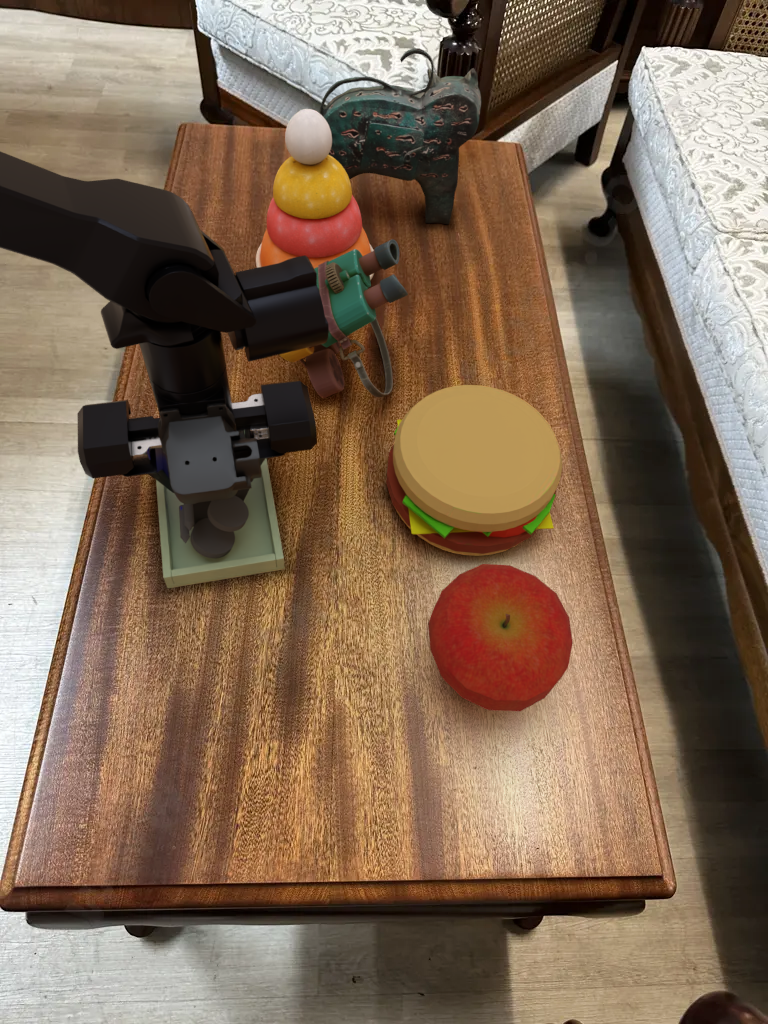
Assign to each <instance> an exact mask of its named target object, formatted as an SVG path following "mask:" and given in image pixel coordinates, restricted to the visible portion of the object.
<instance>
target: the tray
mask: <svg viewBox="0 0 768 1024" xmlns="http://www.w3.org/2000/svg"><path fill="white" fill-rule="evenodd" d="M244 434H245V430H244ZM261 474H262V476H261V478H255V479H253V481H252V482H251V487H252V488H250V489H249V491H248V493H247V495H246V497H245V499H244V503H245V504H246V505H247V507H248V511H249V516H248V519H247V521H246V523H245V525H244V526H243V527H242V528H241V529H239V530H237V531H234V534H235V542H234V545H233V547H232V549H231V550H230V552H229V553H228V554H227V555H225V556H223V557H221V558H207V557H205V556H202V555H201V554H199V553H198V552H197V551H196V550H195V549H194V548H193V546H192V544H191V540H190V538H189V539H188V541H187V542H186V543H185V542H184V541H183V540H182V539H181V537H180V519H179V506H180V505H184V504H183V503H181V502H180V501H179V500H178V499H177V497H176V495H175V493H172V492H171V491H170V490H169V489H167V488H166V487H165V486H163V485H162V484H161V483H160V482H158V481H157V480H156V479H155V484H156V499H157V509H158V510H157V511H158V512H157V513H158V524H159V526H158V527H159V539H160V553H161V565H162V566H161V567H162V578H163V580H164V583H165V586H166V588H167V589H173V588H179V587H185V586H191V585H197V584H198V585H199V584H202V583H203V584H204V583H210V582H216V581H221V580H228V579H234V578H239V577H247V576H252V575H259V574H264V573H270V572H271V573H272V572H277V571H282V570H286V566H285V556H284V551H283V545H282V540H281V534H280V528H279V522H278V516H277V510H276V506H275V499H274V494H273V488H272V487H273V486H272V482H271V476H270V470H269V465H268V458H266V459H265V460H264V461H263V463H262V465H261ZM193 528H194V527H192V529H191V530H190V531H189V534H190V536H191V532H192V530H193Z"/></svg>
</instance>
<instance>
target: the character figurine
mask: <svg viewBox="0 0 768 1024" xmlns="http://www.w3.org/2000/svg"><path fill="white" fill-rule="evenodd" d="M241 431H243V435H244V438H245V434H244V430H239V432H241ZM233 453H234V451H233ZM234 460H235V457H234ZM235 467H236V465H235ZM236 473H237V472H236ZM248 491H249V489H248V488H247V489H242V490H238V491H237V493H236V495H235V496H233V497H232V498H230V499H224V500H213V501H206V502H199V503H196V504H184V505H180V506H179V519H180V537H181V539H182V540H183V541H184V542H185V543H186V542H187V541H188V539H189V538H190V540H191V544H192V546H193V548H194V549H195V550H196V551H197V552H198V553H199V554H201V555H202V556H205V557H207V558H221V557H223V556H225V555H227V554H228V553H229V552H230V550H231V549H232V547H233V545H234V542H235V534H234V531H237V530H239V529H241V528H242V527H243V526H244V525H245V523H246V521H247V519H248V516H249V511H248V507H247V505H246V504H245V503H244V499H245V497H246V495H247V493H248ZM192 527H194V528H193V530H192V532H191V536H190V534H189V531H190V530H191V529H192Z"/></svg>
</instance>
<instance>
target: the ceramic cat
mask: <svg viewBox="0 0 768 1024" xmlns="http://www.w3.org/2000/svg"><path fill="white" fill-rule="evenodd" d="M412 55H421V56H424V57H425V58H426V59H427V60H428V61H429V63H430V66H431V67H430V69H429V68H427V78H428V80H427V84H426V87H424V88H422V89H420V90H419V89H418V90H415V91H414V90H410V89H408V88H406V87H403V86H400V85H397V84H396V85H395V84H389V83H387V82H385V81H383V80H381V79H378V78H376V77H373V76H354V77H348V78H344V79H340V80H338V81H336V82H334V83H333V84H332V85H331V86H330V87H329V88H328V89H327V91H326V92H325V94H324V96H323V98H322V100H321V103H320V106H319V112H318V113H320V114H321V115H322V116H323V117H324V118H325V120H326V121H327V123H328V125H329V127H330V130H331V134H332V146H331V150H330V152H329V154H328V155H330V156H332V157H333V158H335V159H336V160H337V161H338V162H339V163H340V164H341V165H342V166H343V168H344V169H345V171H346V173H347V175H348V177H349V180H350V181H351V180H352V179H353V178H355V177H357V176H359V175H363V174H372V175H378V176H384V177H389V178H392V179H397V180H402V181H406V182H412V181H416V182H417V183H418V185H419V186H420V188H421V191H422V194H423V196H424V204H425V207H424V208H425V209H424V217H425V221H424V223H425V224H444V225H449V224H450V223H451V217H452V213H453V210H454V206H455V205H454V203H455V196H456V190H457V187H458V181H459V166H460V147H462V146H463V145H464V144H466V143H467V142H469V140H471V139H472V138H473V136H474V135H475V134H476V132H477V129H478V127H479V124H480V115H481V108H482V94H481V91H480V88H479V81H478V72H477V71H476V70H475V68H474V67H473V68H471V69H469V71H468V72H467V74H465V76H458V75H451V76H449V75H448V76H443V77H440V76H438V74H436V72H435V71H434V69H435V68H434V67H435V65H434V62H433V58H432V56H431V55H430V54H429V53H428V52H426V50H424V49H422V48H420V47H419V48H418V47H417V48H416V47H415V48H414V47H413V48H410V49H407V50H406V51H405V52H404V53H403V54H402V55H401V57H400V59H399V61H400V62H401V63H403V61H404V60H406V59H407V58H408V57H410V56H412ZM357 82H373V83H376V84H379V85H375V86H365V87H364V86H363V87H362V86H361V87H359V86H358V87H351V88H349V89H347V90H346V91H344V92H342V93H340V94H338V95H335V96H334V97H333V98H332V99H331V100H330V101H329V102H328V103H327V104H326V105H325V103H326V101H327V99H328V97H329V96H330V95H331V94H332V93H333V92H334V91H335V90H336V89H337V88H339V87H341V86H343V85H345V84H349V83H357Z"/></svg>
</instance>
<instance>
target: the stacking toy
mask: <svg viewBox="0 0 768 1024" xmlns="http://www.w3.org/2000/svg"><path fill="white" fill-rule="evenodd" d="M284 137H285V138H284V142H285V147H286V149H287V151H288V153H289V155H290V156H289V157H288V158H286V160H284V161H283V162H282V164H281V165H280V167H279V168H278V170H277V171H276V174H275V177H274V181H273V186H272V198H271V200H270V203H269V206H268V209H267V213H266V229H265V231H264V234H263V237H262V240H261V243H260V245H259V246H258V248H257V251H256V254H255V265H256V268H258V267H263V266H268V265H273V264H277V263H281V262H283V261H286V260H288V259H291V258H295V257H300V256H304V255H305V256H307V257H308V259H309V260H310V262H311V264H312V266H313V268H316V267H318V265H320V264H322V263H324V262H326V261H331V260H333V259H335V258H337V257H339V256H341V255H344V254H346V253H348V252H350V251H352V250H354V249H357V250H359V251H360V253H361V254H362V256H364V255H366V254H368V253H370V252H372V251H374V249H373V246H372V244H370V241H369V238H368V235H367V233H366V231H365V229H364V227H363V219H362V213H361V210H360V207H359V204H358V202H357V200H356V198H355V196H354V195H353V189H352V184H351V179H350V180H349V177H348V175H347V173H346V171H345V169H344V168H343V166H342V165H341V164H340V163H339V162H338V161H337V160H336V159H335V158H333V157H332V156H330V155H328V154H329V152H330V150H331V146H332V134H331V130H330V127H329V125H328V123H327V121H326V120H325V118H324V117H323V116H322V115H321V114H320V113H319V112H318V111H317V110H315V109H312V108H304V109H300V110H298V111H297V112H296V113H294V114H293V115H292V116H291V118H290V120H289V121H288V123H287V125H286V129H285V133H284ZM374 275H375V273H373V274H371V275H370V281H371V282H372V279H373V277H374Z"/></svg>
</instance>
